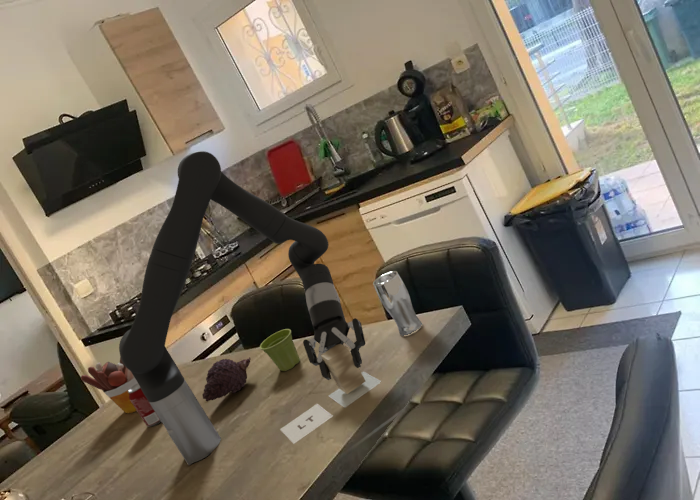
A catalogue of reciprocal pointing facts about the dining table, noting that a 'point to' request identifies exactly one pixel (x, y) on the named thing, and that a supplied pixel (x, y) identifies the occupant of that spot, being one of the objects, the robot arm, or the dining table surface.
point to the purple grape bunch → (225, 378)
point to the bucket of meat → (113, 383)
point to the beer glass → (397, 302)
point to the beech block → (343, 368)
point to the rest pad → (355, 391)
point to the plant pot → (281, 349)
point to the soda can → (143, 406)
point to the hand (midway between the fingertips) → (343, 372)
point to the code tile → (306, 423)
